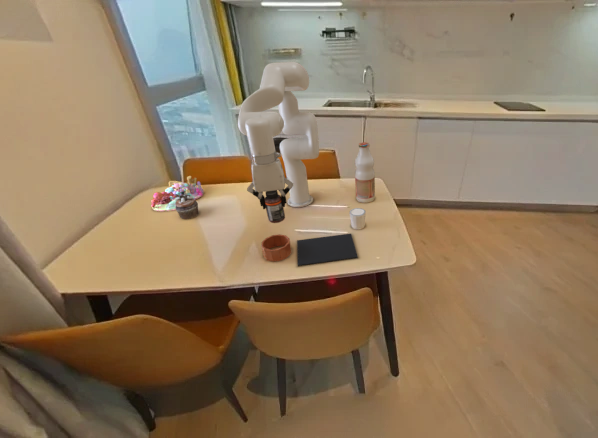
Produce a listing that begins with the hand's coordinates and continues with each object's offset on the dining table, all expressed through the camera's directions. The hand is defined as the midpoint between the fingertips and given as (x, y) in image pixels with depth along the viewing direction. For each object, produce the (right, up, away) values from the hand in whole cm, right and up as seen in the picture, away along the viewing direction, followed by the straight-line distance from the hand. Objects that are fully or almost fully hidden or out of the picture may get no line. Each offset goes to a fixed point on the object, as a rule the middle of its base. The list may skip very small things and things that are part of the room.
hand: (274, 205), depth 111 cm
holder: (-1, -18, +10) cm, 20 cm away
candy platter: (-63, +5, +53) cm, 83 cm away
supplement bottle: (0, -5, +3) cm, 6 cm away
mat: (+17, -16, +11) cm, 26 cm away
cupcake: (-50, -3, +38) cm, 63 cm away
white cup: (+30, -8, +25) cm, 39 cm away
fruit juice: (+33, +5, +46) cm, 57 cm away
